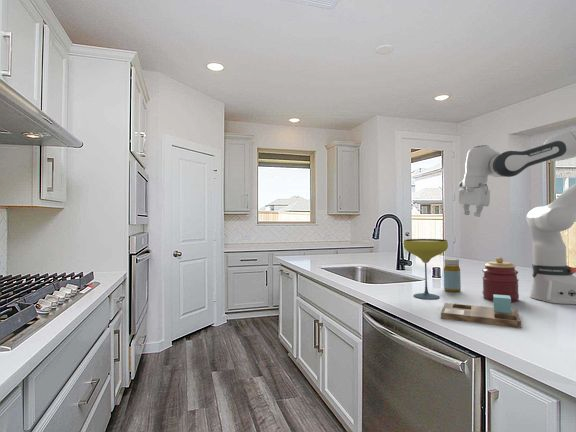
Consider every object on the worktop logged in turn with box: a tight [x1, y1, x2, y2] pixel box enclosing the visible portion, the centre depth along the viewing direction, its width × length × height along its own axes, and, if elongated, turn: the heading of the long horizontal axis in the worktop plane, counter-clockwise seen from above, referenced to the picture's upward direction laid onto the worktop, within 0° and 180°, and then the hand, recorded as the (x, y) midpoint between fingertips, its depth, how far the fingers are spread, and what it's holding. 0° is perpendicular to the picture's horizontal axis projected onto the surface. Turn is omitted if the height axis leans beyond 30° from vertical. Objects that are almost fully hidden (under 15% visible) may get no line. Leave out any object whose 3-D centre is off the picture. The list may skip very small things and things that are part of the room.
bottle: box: [443, 257, 462, 293], centre depth 159 cm, size 7×7×15 cm
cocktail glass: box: [403, 238, 449, 301], centre depth 148 cm, size 18×18×25 cm
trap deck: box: [440, 302, 522, 329], centre depth 117 cm, size 23×15×2 cm, turn 60°
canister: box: [481, 256, 520, 303], centre depth 142 cm, size 13×13×18 cm
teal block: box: [492, 294, 512, 313], centre depth 117 cm, size 5×5×5 cm
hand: (471, 215), depth 145 cm, fingers open, 8 cm apart
